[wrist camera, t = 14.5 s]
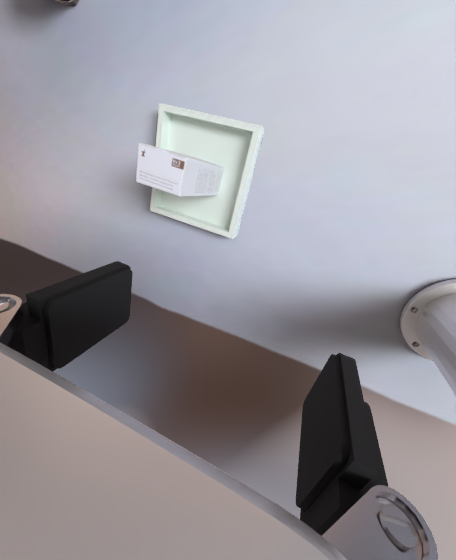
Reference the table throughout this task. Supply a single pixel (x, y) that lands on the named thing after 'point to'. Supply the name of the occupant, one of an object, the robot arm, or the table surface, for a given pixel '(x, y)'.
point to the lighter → (68, 2)
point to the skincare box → (177, 172)
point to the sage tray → (215, 149)
